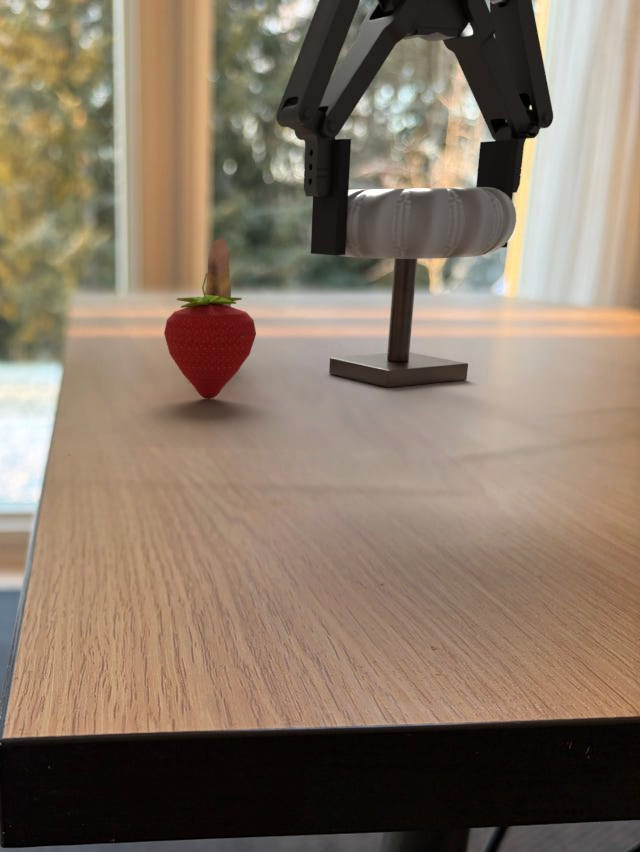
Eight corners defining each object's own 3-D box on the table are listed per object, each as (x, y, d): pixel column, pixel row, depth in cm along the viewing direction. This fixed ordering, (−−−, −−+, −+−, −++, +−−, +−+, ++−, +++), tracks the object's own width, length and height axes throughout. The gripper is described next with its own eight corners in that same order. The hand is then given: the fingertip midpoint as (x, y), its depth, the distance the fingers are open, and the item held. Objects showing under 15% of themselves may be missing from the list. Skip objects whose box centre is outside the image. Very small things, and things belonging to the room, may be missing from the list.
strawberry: (252, 406, 85) (256, 275, 81) (160, 404, 86) (159, 275, 82) (255, 393, 90) (259, 270, 87) (168, 392, 91) (168, 270, 87)
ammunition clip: (213, 362, 107) (214, 236, 103) (231, 363, 107) (233, 236, 102) (201, 379, 97) (202, 241, 93) (221, 380, 97) (223, 241, 93)
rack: (404, 367, 104) (417, 208, 98) (466, 380, 96) (485, 208, 91) (328, 373, 100) (337, 209, 95) (387, 387, 93) (401, 210, 87)
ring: (424, 248, 77) (429, 188, 75) (552, 254, 66) (561, 185, 65) (279, 254, 72) (281, 190, 70) (393, 263, 61) (398, 188, 60)
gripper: (551, -110, 69) (513, 242, 77) (221, -154, 59) (219, 255, 67) (646, -141, 62) (593, 245, 71) (295, -196, 53) (282, 260, 61)
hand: (411, 251), depth 69 cm, fingers closed on ring, 12 cm apart
